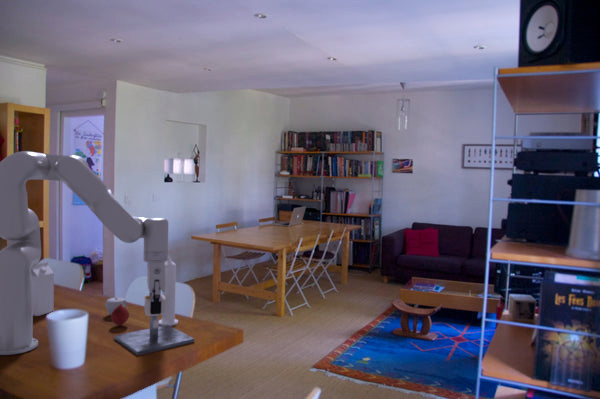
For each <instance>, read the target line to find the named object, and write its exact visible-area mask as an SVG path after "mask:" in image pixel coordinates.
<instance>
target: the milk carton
mask: <svg viewBox="0 0 600 399" xmlns="http://www.w3.org/2000/svg"><path fill="white" fill-rule="evenodd" d="M31 276H32V284H33V317H34V316H35V317H39V316H42V315H46V314H49V313H50V314H51V313H53V312H55V311H54V310H55V308H54V307H55V306H54V304H55V303H54V301H55V300H54V297H55V295H54V294H55V272H54V271H53V270H52V268H51V267H50V266H49V264H48V261H45V262H40V263H39V262H38V264H37V265H36V266H35V267H33V268H32V269H31ZM52 311H53V312H52Z"/></svg>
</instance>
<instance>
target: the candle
mask: <svg viewBox="0 0 600 399" xmlns="http://www.w3.org/2000/svg"><path fill="white" fill-rule="evenodd" d="M176 268H177V264H176V263H175V262H174V261H172V258H171V255H169V254H168V261H165V292H163V291H161V292H162V294H161V295H164V297H165V299H166V309H165V315H161V319H158V326H165V325H170V326H172V327H173V326H176V325H178V323H179V320H178V319H176V316H175V315H176V281H177V280H176V278H177V275H176V274H177V271H176V270H177V269H176Z"/></svg>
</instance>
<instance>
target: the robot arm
mask: <svg viewBox="0 0 600 399" xmlns="http://www.w3.org/2000/svg"><path fill="white" fill-rule="evenodd" d="M29 180H39V181H40V180H42V181H44V180H45V181H53V182H54V181H55V182H56V181H57V182H59V181H60V182H62V183H63V184H65V186H67V188H69V189H70V191H72V192H73V194H75V195H76V196H77V197H78V198H79V199H80V200H81V201H82V202H83V203H84V204H85V205H86V206H87V207H88V208H89V209H90V211H91V212H92V214H94V215H95V216H96V217H97V219H98V220H99V221H100V222H101V223H102V224H103V225H104V226H105V228H107V230H108V231H109V232H111V233H112V234H113V235H114V236H115V237H116V238H117V240H120V241H121V242H123V243H124V244H125V243H126V244H131V243H132V244H133V243H135V242H137V241H138V240H140V239H143V262H146V263H147V264H146V277H147V278H146V280H147V282H146V283H147V289H148V292H149V295H148V296H151V295H152V302H151V310H150V313H151V314H161V295H162V294H161V292H162V291H163V292H165V263H166V262H167V261H168V258H169V251H168V250H169V220H168V219H166V218H164V217H141V216H132V215H131V214H130V213H129V212H128V211H127V210H126V209H124V207H123V206H122V205H121V204H120V202H119V201H118V200H117V199H116V197H115V196H114V193H113V191H112V190H111V188H110V187H109V186H108V185H107V183H105V182H104V181H103V180H102V179H101V178H100V177H99V176H98V175H97V174H96V173H95V172H94V171H93V170H92V169H91V168H90V166H89V164H88V161H86V160H85V159H84V158H83V157H81V156H79V155H73V154H66V155H64V154H53V153H52V154H51V153H44V152H43V153H42V152H35V151H31V150H29V151H28V150H24V151H23V150H22V151H17V152H14V153H12V154H9V155H8V156H6V157H5V158H3V159H2V160H1V161H0V238H1V239H3V240H6V241H7V242H6V243H7V246H5V247H3V248H1V250H0V356H10V355H12V356H13V355H19V354H23V353H26V352H29V351H32V350H34V349H36V348H37V347H38V346H39V340H38V339H37V338H35V337H34V336H33V333H34V332H33V331H34V330H33V327H34V326H33V321H34V320H33V317H34V315H33V284H32V276H31V269H32V268H33V267H35V266H36V265H37V264H39V262H40V260H41V257H42V246H41V245H42V241H41V229H40V227H41V226H40V220H39V217H38V216H37V214H36V213H35V211H33V210H32V209H30V208H29V204H28V191H27V187H26V184H27V181H29Z"/></svg>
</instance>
